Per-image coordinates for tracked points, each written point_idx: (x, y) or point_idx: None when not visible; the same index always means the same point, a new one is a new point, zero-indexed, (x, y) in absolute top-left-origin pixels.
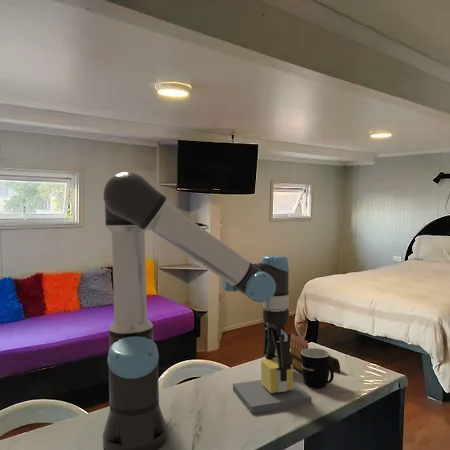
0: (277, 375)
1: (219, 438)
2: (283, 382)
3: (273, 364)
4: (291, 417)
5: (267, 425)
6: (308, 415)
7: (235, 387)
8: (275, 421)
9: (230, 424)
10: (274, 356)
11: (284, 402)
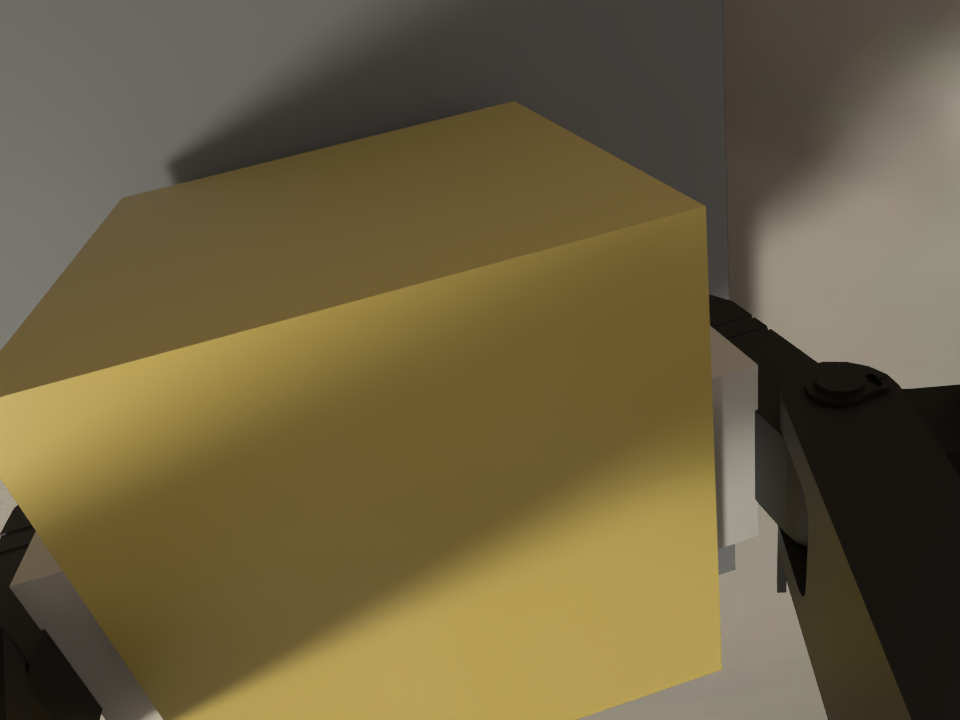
0: None
1: None
2: None
3: (509, 628)
4: (868, 204)
5: None
6: (902, 3)
7: None
8: (874, 355)
9: (794, 637)
10: (10, 655)
11: (722, 263)
